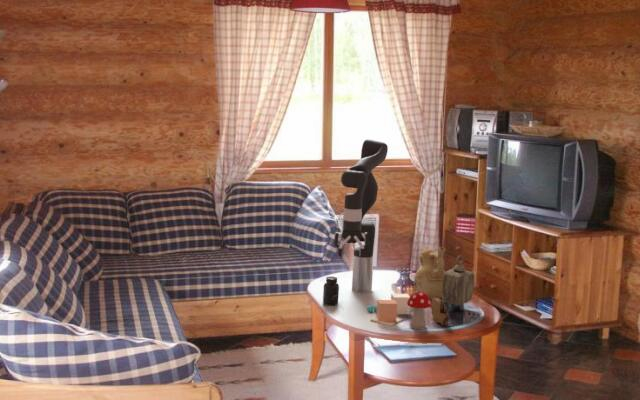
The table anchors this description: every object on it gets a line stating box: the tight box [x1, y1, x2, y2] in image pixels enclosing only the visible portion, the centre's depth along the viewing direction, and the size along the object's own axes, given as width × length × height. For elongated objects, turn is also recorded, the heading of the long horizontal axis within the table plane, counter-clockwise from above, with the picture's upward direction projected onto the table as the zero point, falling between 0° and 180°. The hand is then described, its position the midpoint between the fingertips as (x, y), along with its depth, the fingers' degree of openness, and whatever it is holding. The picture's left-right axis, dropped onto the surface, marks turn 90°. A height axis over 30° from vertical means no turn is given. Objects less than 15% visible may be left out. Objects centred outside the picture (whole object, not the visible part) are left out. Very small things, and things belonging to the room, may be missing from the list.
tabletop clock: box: [441, 254, 475, 312], centre depth 328 cm, size 14×9×25 cm, turn 145°
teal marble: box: [366, 304, 375, 313], centre depth 322 cm, size 3×3×3 cm
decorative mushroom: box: [407, 291, 432, 330], centre depth 303 cm, size 10×9×15 cm
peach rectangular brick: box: [375, 299, 398, 321], centre depth 310 cm, size 7×5×8 cm
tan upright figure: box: [413, 246, 446, 300], centre depth 349 cm, size 17×20×25 cm
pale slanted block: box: [390, 293, 411, 315], centre depth 322 cm, size 7×5×8 cm
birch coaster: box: [370, 316, 404, 327], centre depth 311 cm, size 10×10×1 cm
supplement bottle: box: [322, 276, 340, 307], centre depth 330 cm, size 7×7×12 cm
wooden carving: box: [429, 298, 450, 326], centre depth 311 cm, size 16×5×10 cm, turn 17°
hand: (350, 257), depth 308 cm, fingers open, 8 cm apart
